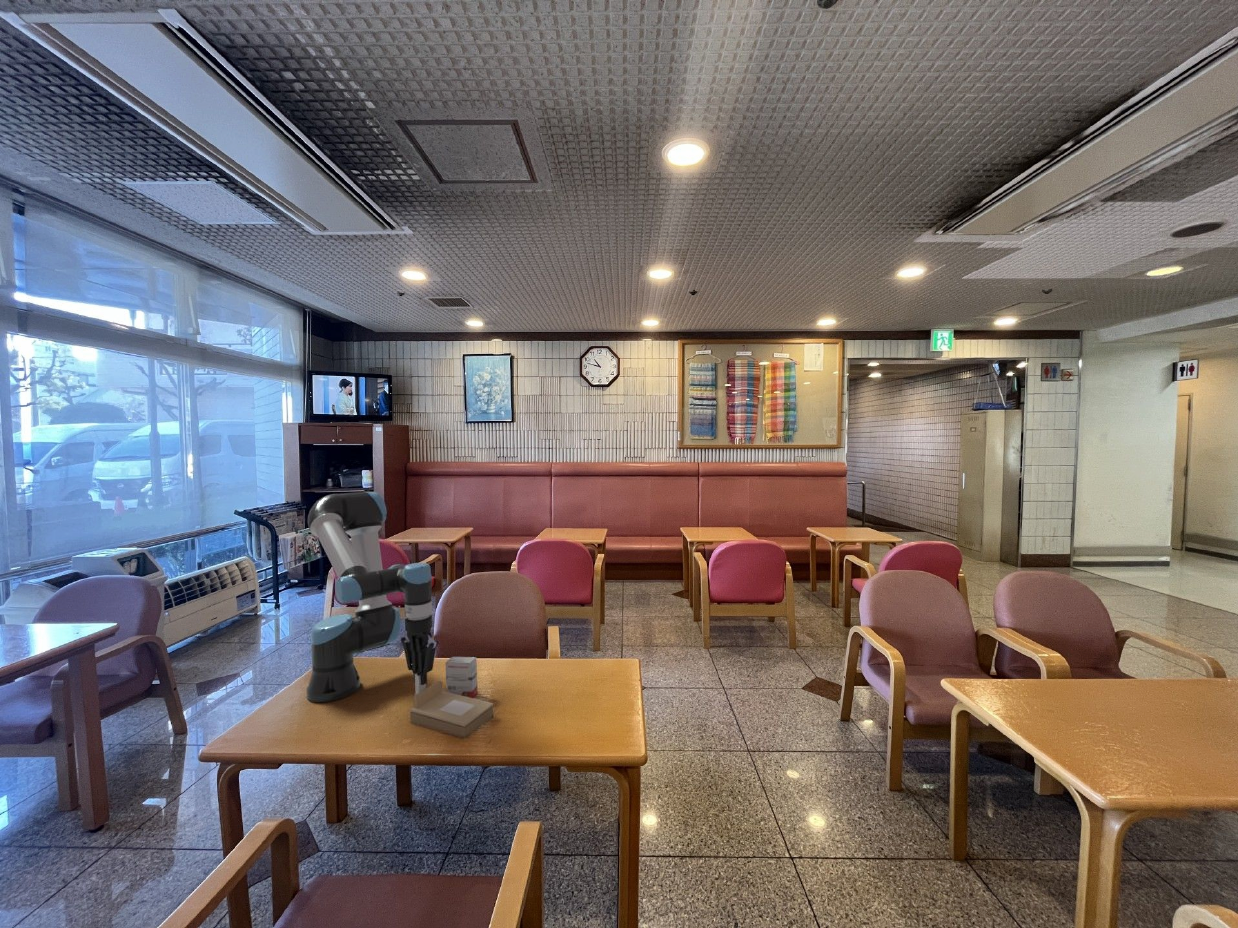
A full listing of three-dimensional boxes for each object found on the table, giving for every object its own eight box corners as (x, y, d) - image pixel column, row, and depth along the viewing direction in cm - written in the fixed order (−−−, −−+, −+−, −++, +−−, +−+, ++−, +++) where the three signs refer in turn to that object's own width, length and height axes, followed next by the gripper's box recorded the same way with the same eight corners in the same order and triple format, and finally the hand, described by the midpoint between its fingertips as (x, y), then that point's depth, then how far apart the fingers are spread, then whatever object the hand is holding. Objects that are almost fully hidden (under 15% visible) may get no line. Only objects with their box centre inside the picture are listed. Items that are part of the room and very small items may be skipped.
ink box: (478, 692, 159) (477, 656, 159) (472, 700, 154) (471, 662, 154) (452, 691, 160) (451, 655, 159) (445, 699, 155) (444, 662, 155)
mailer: (410, 722, 142) (410, 712, 142) (441, 702, 153) (441, 693, 153) (464, 738, 134) (464, 727, 133) (493, 716, 144) (493, 706, 144)
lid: (410, 711, 142) (409, 696, 141) (440, 692, 153) (440, 678, 152) (464, 726, 133) (464, 711, 133) (493, 705, 144) (492, 691, 144)
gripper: (392, 617, 146) (394, 695, 147) (425, 623, 141) (427, 704, 142) (412, 609, 153) (414, 684, 154) (444, 614, 148) (446, 692, 148)
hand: (420, 693), depth 148 cm, fingers closed
